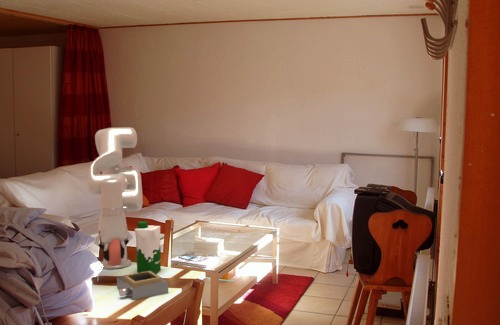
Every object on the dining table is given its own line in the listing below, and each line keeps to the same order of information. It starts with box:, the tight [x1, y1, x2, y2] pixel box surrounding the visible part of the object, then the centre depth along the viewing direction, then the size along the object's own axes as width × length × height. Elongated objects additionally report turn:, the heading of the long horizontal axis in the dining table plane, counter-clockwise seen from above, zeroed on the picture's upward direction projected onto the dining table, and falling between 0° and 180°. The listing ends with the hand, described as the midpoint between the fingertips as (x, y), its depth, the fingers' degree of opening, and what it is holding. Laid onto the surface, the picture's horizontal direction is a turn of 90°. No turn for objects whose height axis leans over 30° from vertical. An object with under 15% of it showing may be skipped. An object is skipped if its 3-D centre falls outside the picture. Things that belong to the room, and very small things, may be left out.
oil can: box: [107, 239, 121, 266], centre depth 204 cm, size 5×5×13 cm
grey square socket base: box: [116, 271, 169, 301], centre depth 195 cm, size 16×16×5 cm
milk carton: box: [134, 220, 162, 274], centre depth 217 cm, size 9×9×20 cm
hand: (114, 258), depth 205 cm, fingers closed on oil can, 5 cm apart
